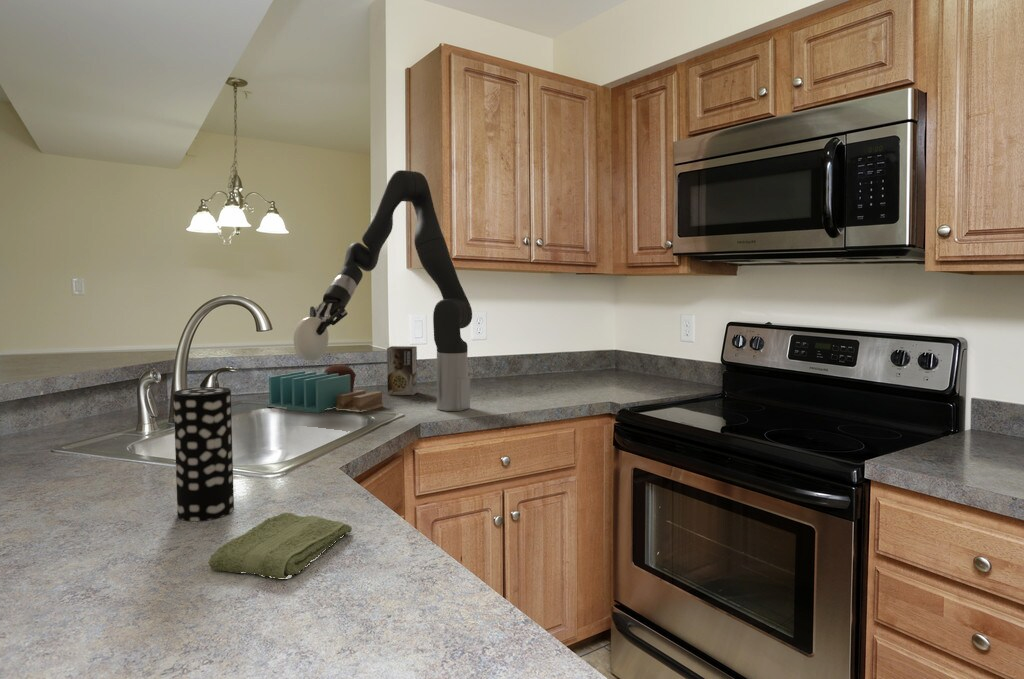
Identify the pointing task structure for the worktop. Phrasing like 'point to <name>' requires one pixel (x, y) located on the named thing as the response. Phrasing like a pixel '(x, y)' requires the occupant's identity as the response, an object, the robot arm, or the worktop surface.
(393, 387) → the coffee box
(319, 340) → the plate
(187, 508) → the spotted tube
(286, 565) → the washcloth
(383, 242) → the robot arm
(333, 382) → the rack
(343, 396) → the plate stand
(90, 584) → the worktop surface
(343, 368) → the muffin
